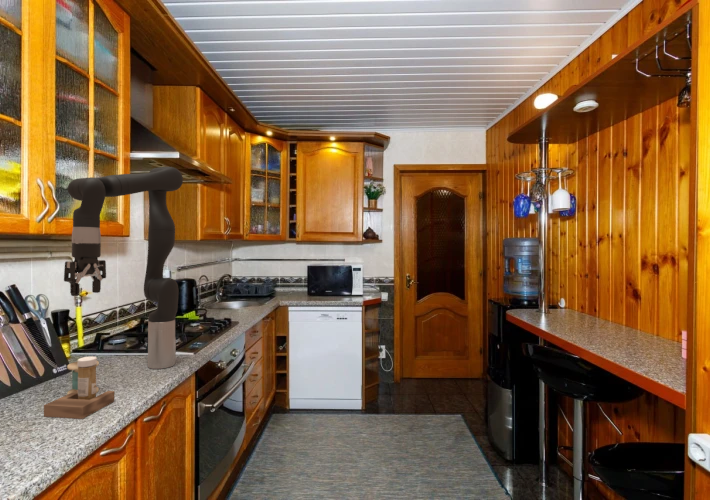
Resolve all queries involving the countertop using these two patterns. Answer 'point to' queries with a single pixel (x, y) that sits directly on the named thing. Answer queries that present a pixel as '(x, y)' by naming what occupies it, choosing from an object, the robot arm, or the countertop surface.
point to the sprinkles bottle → (87, 378)
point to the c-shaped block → (77, 405)
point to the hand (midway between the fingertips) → (86, 294)
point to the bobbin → (76, 376)
